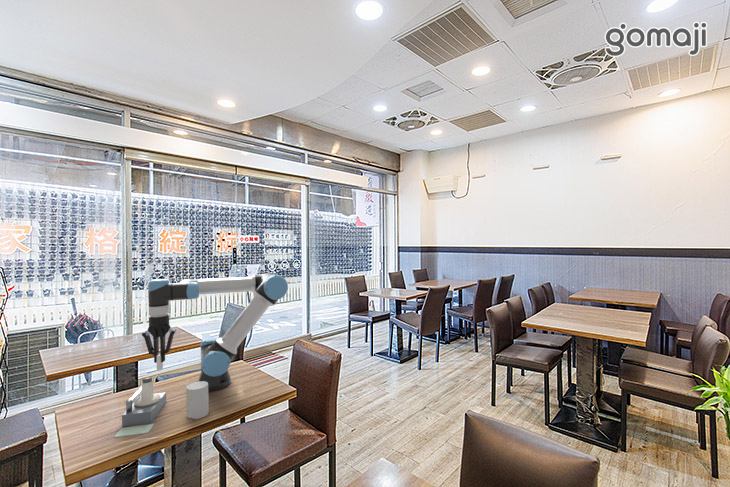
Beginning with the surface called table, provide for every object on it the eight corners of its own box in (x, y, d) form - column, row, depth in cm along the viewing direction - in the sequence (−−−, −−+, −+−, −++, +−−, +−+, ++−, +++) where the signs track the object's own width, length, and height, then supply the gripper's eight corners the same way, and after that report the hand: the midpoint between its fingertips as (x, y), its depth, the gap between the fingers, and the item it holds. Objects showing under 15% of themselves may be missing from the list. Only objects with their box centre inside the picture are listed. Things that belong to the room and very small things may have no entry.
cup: (187, 411, 141) (187, 383, 141) (209, 407, 144) (208, 379, 144) (185, 421, 133) (185, 391, 133) (208, 416, 136) (207, 387, 136)
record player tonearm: (147, 393, 147) (147, 384, 147) (130, 411, 131) (130, 401, 131) (142, 394, 146) (141, 385, 146) (125, 412, 131) (124, 402, 130)
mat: (154, 425, 130) (154, 423, 130) (148, 434, 124) (148, 432, 124) (121, 429, 128) (121, 427, 128) (114, 439, 122) (114, 436, 122)
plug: (164, 405, 145) (163, 373, 145) (156, 416, 136) (155, 381, 136) (140, 408, 143) (139, 375, 143) (130, 419, 134) (129, 384, 134)
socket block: (166, 403, 148) (166, 392, 148) (151, 424, 131) (151, 411, 131) (140, 406, 146) (140, 394, 146) (122, 428, 129) (121, 415, 129)
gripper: (178, 312, 150) (179, 365, 150) (145, 314, 147) (146, 367, 147) (172, 316, 143) (173, 371, 143) (138, 318, 140) (139, 374, 140)
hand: (159, 369), depth 145 cm, fingers closed
